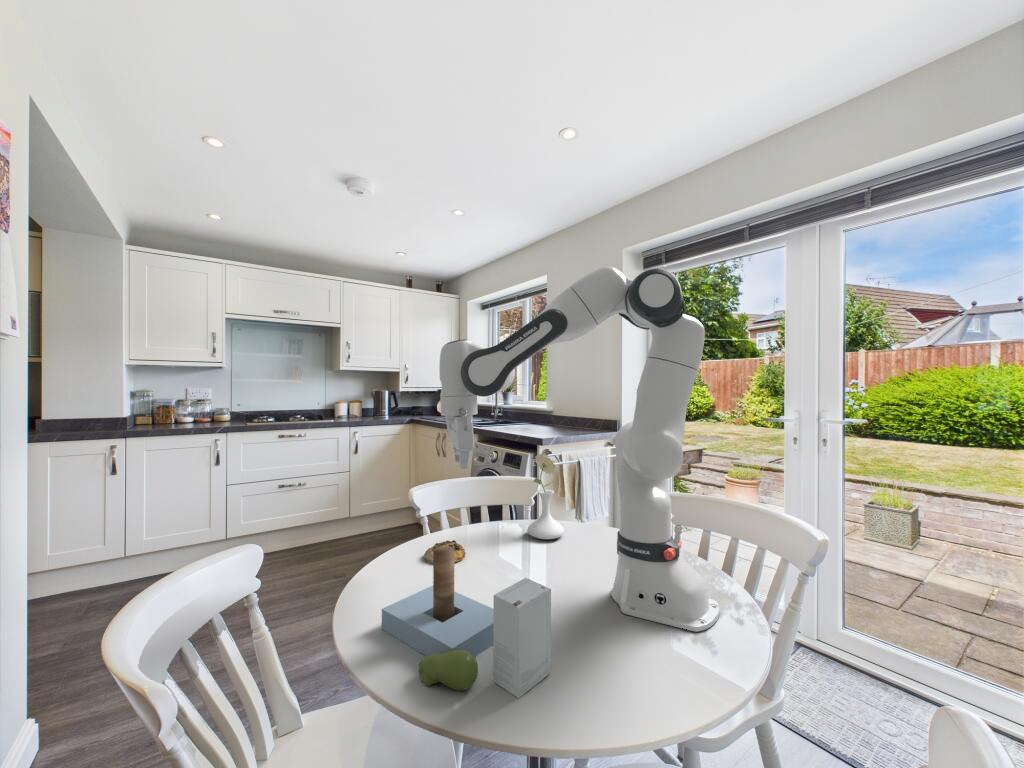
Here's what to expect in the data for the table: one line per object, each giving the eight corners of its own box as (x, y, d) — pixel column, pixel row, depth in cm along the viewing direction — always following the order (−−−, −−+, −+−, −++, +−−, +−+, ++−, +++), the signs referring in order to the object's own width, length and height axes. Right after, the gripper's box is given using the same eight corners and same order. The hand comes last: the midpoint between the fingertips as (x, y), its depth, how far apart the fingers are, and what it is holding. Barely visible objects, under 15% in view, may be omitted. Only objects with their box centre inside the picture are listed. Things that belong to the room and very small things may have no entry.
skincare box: (525, 659, 80) (525, 575, 80) (552, 675, 76) (553, 586, 76) (490, 683, 74) (491, 592, 74) (518, 701, 70) (519, 605, 70)
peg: (458, 631, 89) (458, 549, 89) (442, 640, 86) (443, 555, 85) (444, 624, 91) (444, 544, 91) (428, 632, 88) (429, 550, 88)
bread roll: (452, 546, 133) (452, 529, 132) (473, 563, 124) (474, 546, 123) (417, 556, 126) (417, 539, 125) (436, 576, 117) (437, 558, 116)
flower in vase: (571, 540, 138) (571, 457, 137) (536, 545, 134) (537, 459, 133) (551, 526, 150) (552, 450, 150) (519, 530, 146) (519, 452, 145)
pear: (465, 665, 70) (409, 662, 73) (471, 700, 70) (415, 695, 73) (480, 644, 75) (427, 642, 79) (485, 676, 75) (432, 673, 78)
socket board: (506, 635, 88) (506, 614, 88) (452, 671, 77) (452, 648, 77) (436, 601, 100) (436, 583, 100) (381, 629, 90) (381, 608, 89)
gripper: (479, 409, 101) (481, 471, 102) (466, 405, 121) (468, 457, 121) (450, 410, 100) (453, 474, 100) (442, 406, 120) (444, 459, 120)
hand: (461, 464), depth 111 cm, fingers open, 8 cm apart
